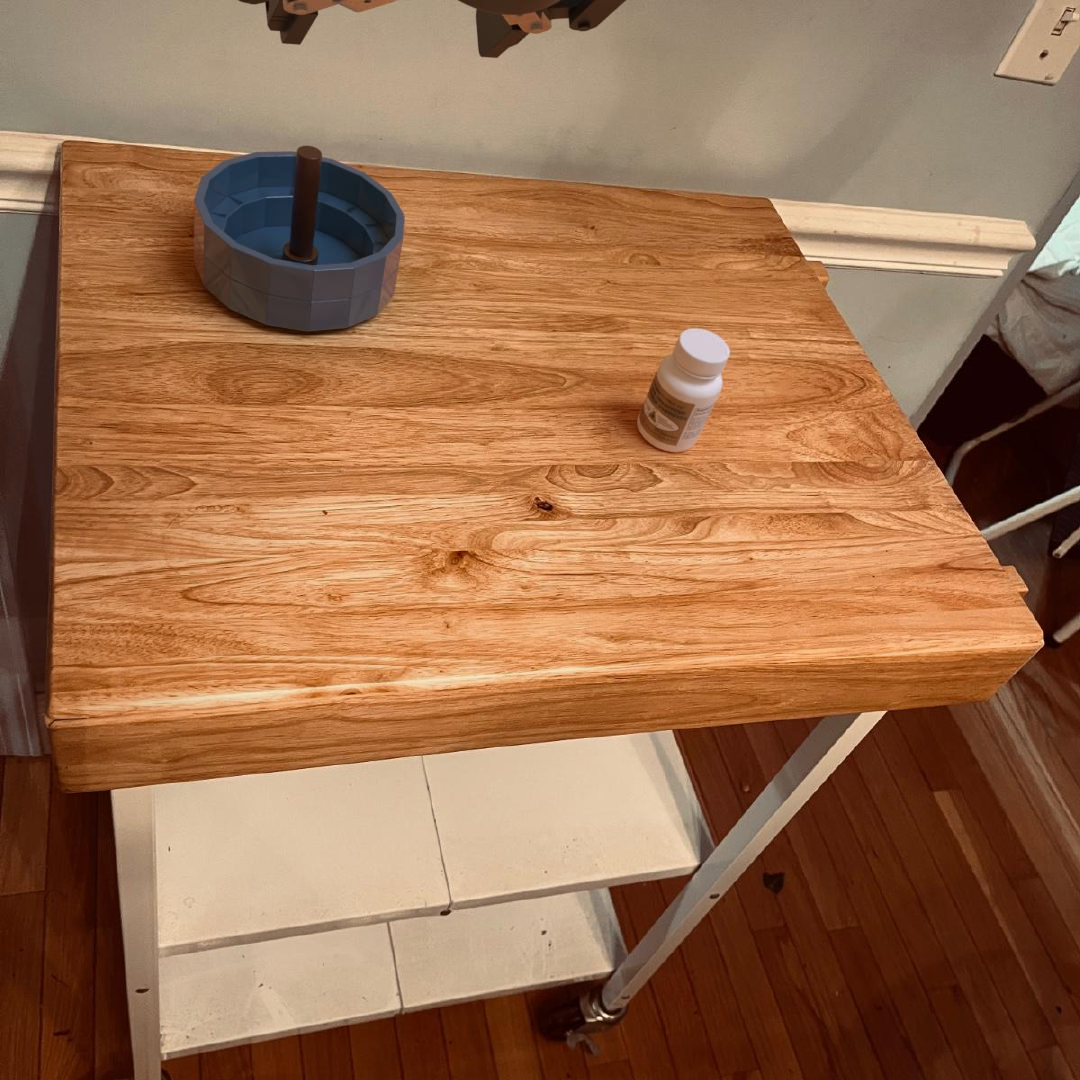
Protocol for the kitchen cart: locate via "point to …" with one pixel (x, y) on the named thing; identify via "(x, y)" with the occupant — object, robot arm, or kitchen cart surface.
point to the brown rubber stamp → (304, 207)
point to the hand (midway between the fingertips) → (388, 27)
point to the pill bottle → (684, 391)
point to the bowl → (264, 228)
